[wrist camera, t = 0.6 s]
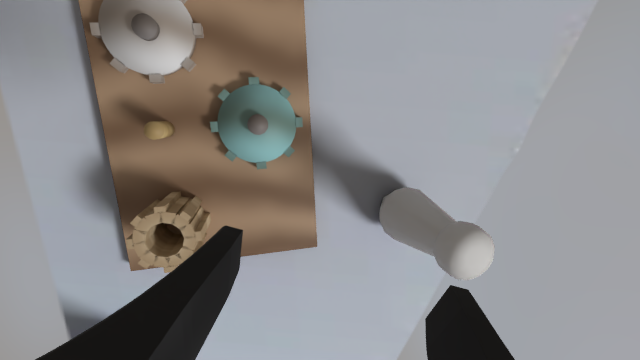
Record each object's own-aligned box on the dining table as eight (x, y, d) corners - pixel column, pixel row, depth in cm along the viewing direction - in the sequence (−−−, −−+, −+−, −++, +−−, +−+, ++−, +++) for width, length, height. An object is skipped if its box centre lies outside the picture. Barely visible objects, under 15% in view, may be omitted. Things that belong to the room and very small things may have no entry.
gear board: (315, 242, 33) (324, 261, 29) (135, 265, 30) (114, 291, 25) (300, -23, 28) (308, -50, 23) (79, -31, 25) (39, -65, 20)
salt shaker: (417, 230, 35) (504, 291, 23) (371, 234, 34) (436, 299, 22) (421, 181, 34) (514, 217, 22) (373, 183, 33) (443, 222, 21)
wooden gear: (186, 257, 29) (171, 284, 25) (135, 224, 28) (110, 246, 23) (222, 215, 29) (216, 234, 25) (174, 179, 28) (156, 192, 23)
